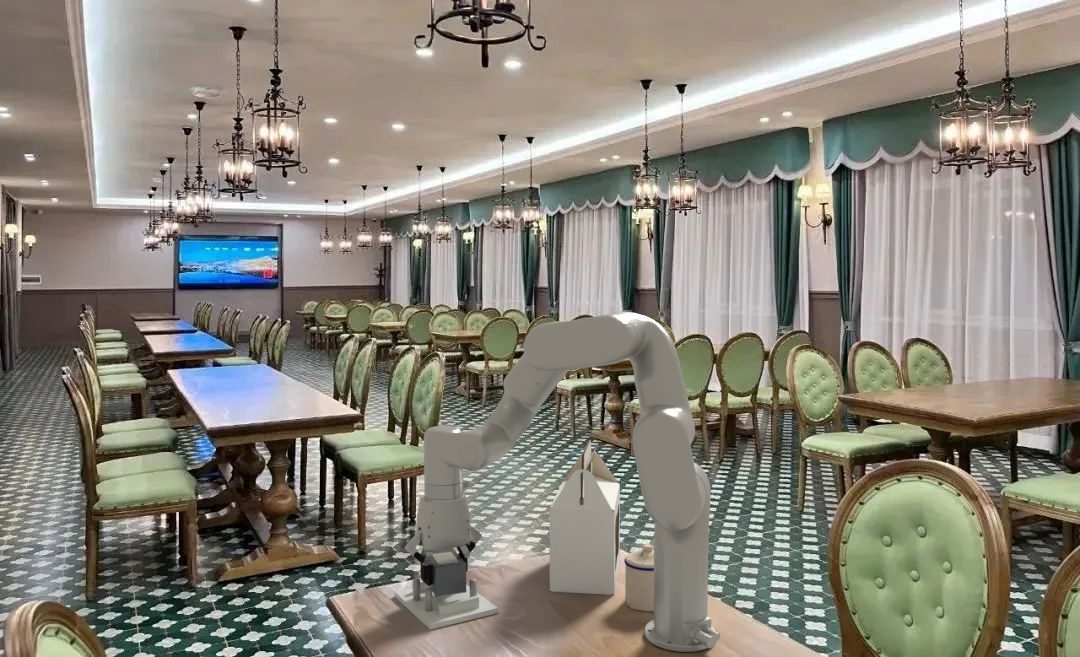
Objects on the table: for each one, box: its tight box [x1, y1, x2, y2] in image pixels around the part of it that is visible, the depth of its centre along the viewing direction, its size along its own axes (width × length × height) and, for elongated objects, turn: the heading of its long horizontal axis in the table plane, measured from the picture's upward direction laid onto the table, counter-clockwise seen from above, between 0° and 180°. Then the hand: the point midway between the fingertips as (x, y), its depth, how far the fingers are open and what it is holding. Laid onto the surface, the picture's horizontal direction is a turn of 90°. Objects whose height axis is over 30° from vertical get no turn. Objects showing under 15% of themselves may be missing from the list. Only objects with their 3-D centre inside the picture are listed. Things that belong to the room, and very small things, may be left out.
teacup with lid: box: [623, 543, 654, 613], centre depth 159 cm, size 12×9×12 cm
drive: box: [429, 548, 467, 597], centre depth 157 cm, size 10×6×6 cm, turn 21°
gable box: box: [548, 439, 621, 596], centre depth 173 cm, size 22×13×28 cm, turn 171°
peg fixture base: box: [394, 577, 499, 631], centre depth 157 cm, size 18×14×5 cm
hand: (444, 579), depth 157 cm, fingers closed on drive, 6 cm apart
